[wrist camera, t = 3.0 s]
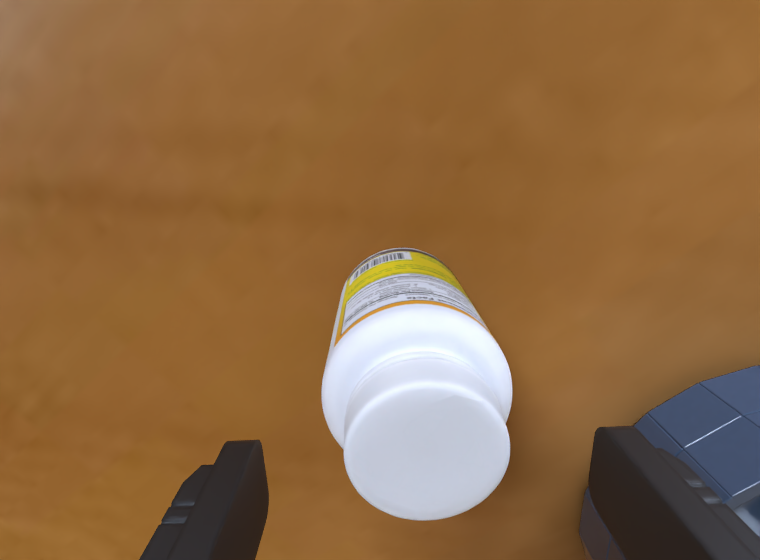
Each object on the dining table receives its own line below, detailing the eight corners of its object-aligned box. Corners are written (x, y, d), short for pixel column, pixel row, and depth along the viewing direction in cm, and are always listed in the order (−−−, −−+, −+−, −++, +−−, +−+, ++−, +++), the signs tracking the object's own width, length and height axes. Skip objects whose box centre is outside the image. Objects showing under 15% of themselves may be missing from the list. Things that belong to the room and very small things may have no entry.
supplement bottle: (422, 373, 21) (464, 577, 11) (320, 325, 20) (268, 498, 10) (484, 278, 19) (595, 416, 10) (376, 221, 18) (378, 308, 9)
